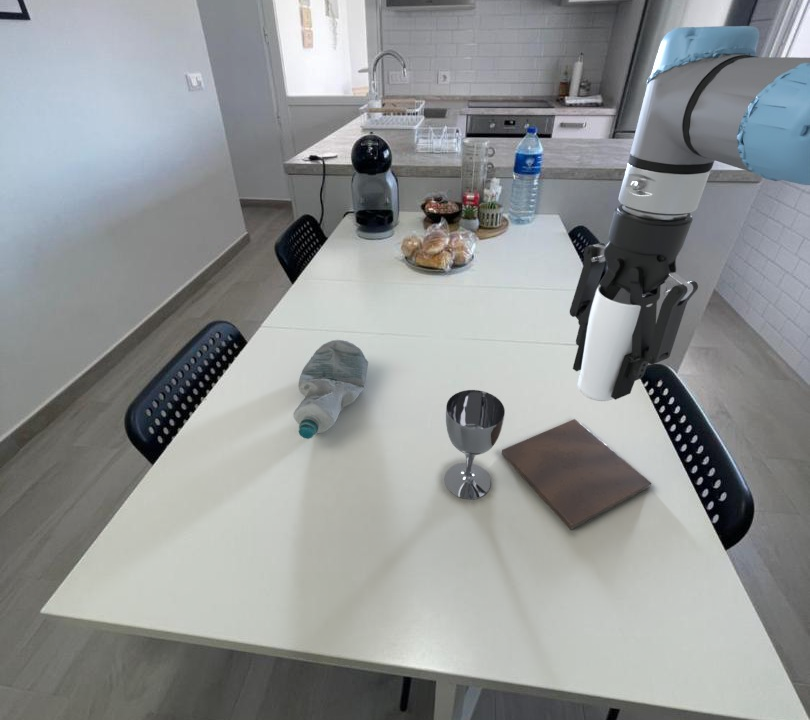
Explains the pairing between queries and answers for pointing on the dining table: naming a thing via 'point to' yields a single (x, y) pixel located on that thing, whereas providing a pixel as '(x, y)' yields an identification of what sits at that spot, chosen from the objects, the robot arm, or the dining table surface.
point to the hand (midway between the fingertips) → (600, 380)
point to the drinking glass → (606, 343)
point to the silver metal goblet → (472, 439)
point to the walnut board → (575, 472)
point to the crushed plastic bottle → (329, 385)
